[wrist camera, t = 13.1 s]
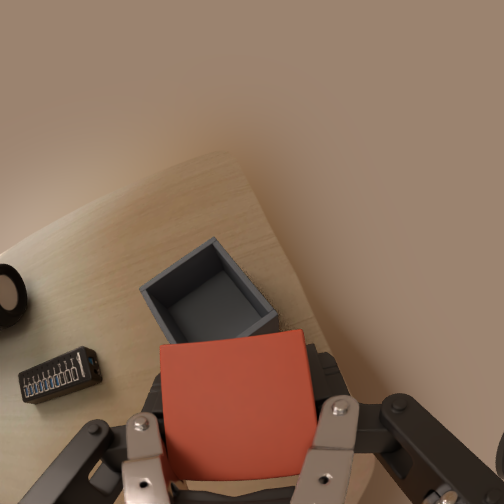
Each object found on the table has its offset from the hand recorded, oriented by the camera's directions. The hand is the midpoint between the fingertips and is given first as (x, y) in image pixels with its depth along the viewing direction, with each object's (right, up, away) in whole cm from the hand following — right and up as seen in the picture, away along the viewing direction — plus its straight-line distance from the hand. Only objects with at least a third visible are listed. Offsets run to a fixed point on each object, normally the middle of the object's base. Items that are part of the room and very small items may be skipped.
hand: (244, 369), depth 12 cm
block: (+1, -4, +4) cm, 5 cm away
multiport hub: (-25, -12, +16) cm, 32 cm away
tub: (-3, -2, +18) cm, 19 cm away
